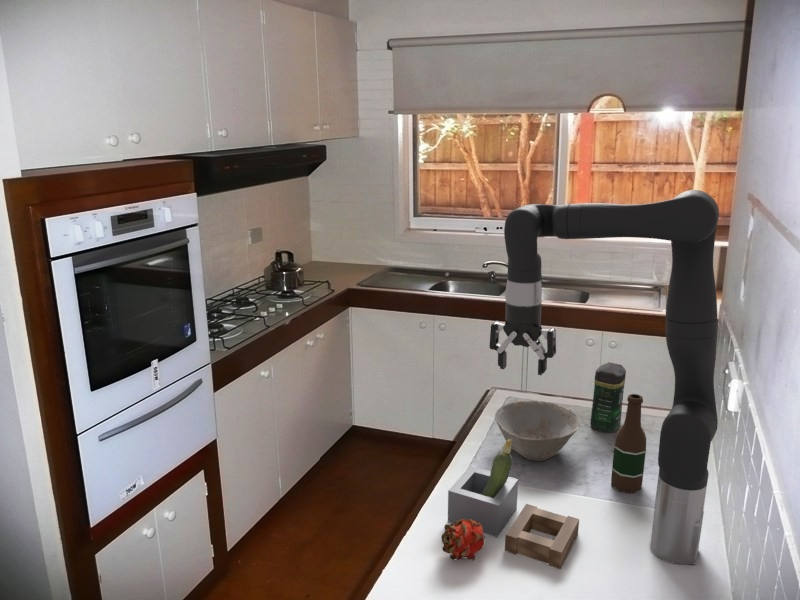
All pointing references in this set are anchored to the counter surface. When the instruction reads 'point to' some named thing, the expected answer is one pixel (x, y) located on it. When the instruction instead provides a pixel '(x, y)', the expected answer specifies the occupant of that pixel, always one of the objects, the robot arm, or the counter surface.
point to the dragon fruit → (463, 539)
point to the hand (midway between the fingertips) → (521, 371)
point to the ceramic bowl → (536, 427)
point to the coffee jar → (608, 397)
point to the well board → (540, 547)
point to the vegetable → (499, 471)
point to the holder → (482, 501)
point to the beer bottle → (629, 449)
